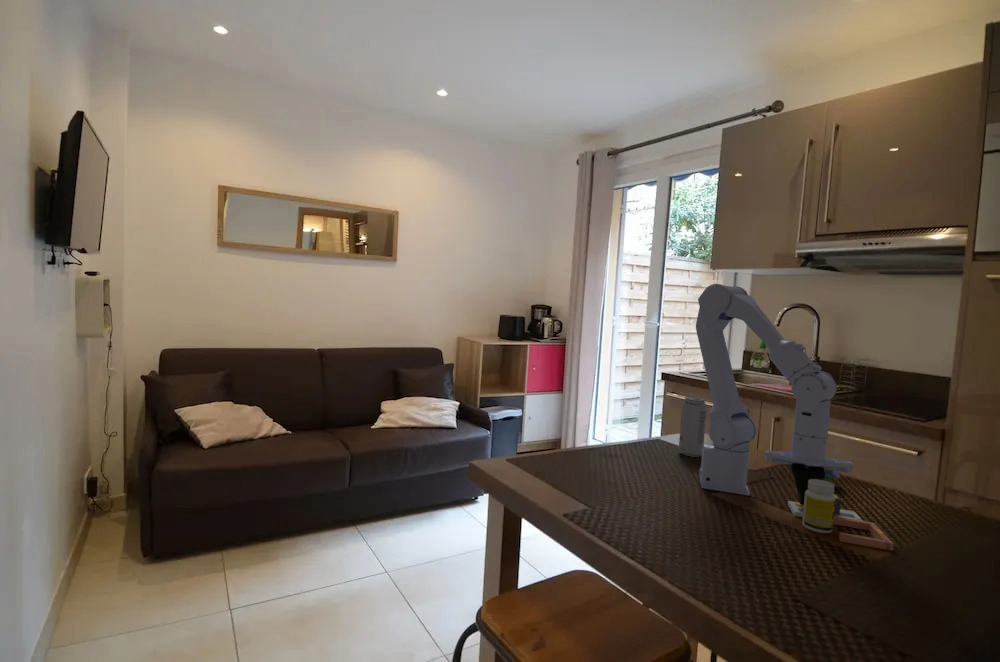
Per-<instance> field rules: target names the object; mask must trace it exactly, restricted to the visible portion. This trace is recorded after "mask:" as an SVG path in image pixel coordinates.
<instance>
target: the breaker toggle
mask: <svg viewBox="0 0 1000 662" xmlns="http://www.w3.org/2000/svg"><path fill="white" fill-rule="evenodd" d="M833 495H834V496H835V498H836V502H835V511H834V514H840V509H841V506H842V505H841V503H842V499H841V498H840V497H839V495H837V494H835V493H833Z"/></svg>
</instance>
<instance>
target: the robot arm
mask: <svg viewBox="0 0 1000 662" xmlns="http://www.w3.org/2000/svg"><path fill="white" fill-rule="evenodd" d="M697 302H698V307H699V308H698V313H697V316H696V317H697V318H696V321H695V331H696V334H697V335H696V336H697V339H698V340H697V341H698V343H699V348H700V353H701V357H702V361H703V367H704V369H705V374H706V379H707V383H708V388H709V392H710V396H711V400H712V407H711V409H710V411H709V413H708V418H709V426H708V429H707V430H708V432H707V433H708V436H709V439H710V440H711V442H712V443H704V444H703V449H702V454H701V460H700V461H701V462H700V468H699V470H698V472H699V473H698V475H699V480H700V481H699V482H700V487H701V488H702V489H706V490H712V491H718V492H723V493H730V494H737V495H742V496H750V495H751V493H750V490H749V487H748V485H747V482H748V470H749V460H750V459H749V458H750V448H751V447H750V443H751V442H752V441H753V440H754V438H756V436H757V426H756V423H755V421H754V420H753V419H752V418H751V416H750V414H749V411H748V408H747V407H746V406H745V405H744V403H743V402H742V401H741V400H740V397H739V392H738V389H737V388H738V387H737V384H736V379H735V376H734V372H733V368H732V363H731V359H730V356H729V355H730V354H729V351H728V347H727V342H726V338H725V334H724V330H725V329H726V327H727V326H728V325H729V324H730V323H731V321H733V320H734V319H736V320H739V321H743V322H744V323H745V324H746V326H748V328H749V329H750V330H751V331H752V332H753V333H755V335H756V336H757V337H758V338H759V339H760V340H761V341H762V342H763V343H764V345H765V346H767V348H768V349H769V354H768V358H769V360H770V361H771V362H772V363H773V364H774V365H775V367H776V368H777V370H779V371H780V373H781V374H782V375H783V377H784V378H785V379H786V380H787V381H788V382H789V384H792V385H791V392H792V395H793V396H794V398H795V400H796V402H795V410H794V420H793V421H794V422H793V431H792V440H791V441H792V442H791V451H782V450H781V451H779V450H777V451H776V450H767V449H766V450H765V451H764V452H765V454H764V461H765V462H766V463H770V464H772V463H776V464H783V465H785V464H786V465H789V468H790V470H791V472H792V475H793V478H794V482H795V485H796V490H797V496H798V497H797V498H798V502H799V503H800V504H801V505H804V497H805V491H806V490H808V489H809V488H808V481H809V480H810V479H819V480H823V479H824V477H825V472H824V469H826V470H833V471H839V473H841V472H842V473H845V474H849V475H853V470H854V469H853V468H854V467H853V466H854V464H853V463H852V462H851V461H850V460H842V459H838V458H830V457H828V456H827V449H828V447H827V444H828V436H829V427H830V425H829V424H830V417H831V416H830V415H831V413H830V412H831V399H833V397H834V396H835V395H836V393H837V389H838V388H837V383H836V381H835V379H834V378H833V376H832V375H831V374H830V373H828V372H826V371H822V370H823V368H822V367H821V365H820V364H816V363H815V362H814V361H813V360H812V359H811V358H810V356H808V355H807V353H806V352H805V351H804V350H806V347H805V346H804V345H803V343H797V342H796V340H795V341H794V340H791V339H789V340H788V339H785V338H784V337H783V336H782V334H781V333H780V332H779V330H778V329H777V328H776V327H775V325H774V324H773V323H772V321H771V320H770V319H769V318H768V316H767V315H766V314H765V313H764V311H763V310H762V309H761V307H760V306H759V305H758V303H757V302H756V300H755V298H754V297H753V296H751V295H750V294H749V293H748V292H747V290H745V288H743V287H740V286H737V285H736V286H735V285H734V286H732V285H724V284H721V283H712V284H710V285H708V286H707V287H705V289H704V290H703V292H702V293H701V294H700V296H699V297H698V299H697Z"/></svg>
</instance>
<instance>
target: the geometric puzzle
mask: <svg viewBox="0 0 1000 662" xmlns="http://www.w3.org/2000/svg"><path fill="white" fill-rule="evenodd" d="M824 472H825V477H824V479H823V480H824V481H828V482H830V483H832V482H833V483H835V482H837V481H839V480H841V479H842V478H841V475H840V471H833V470H826V469H824ZM833 479H836V480H835V481H833Z"/></svg>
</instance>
